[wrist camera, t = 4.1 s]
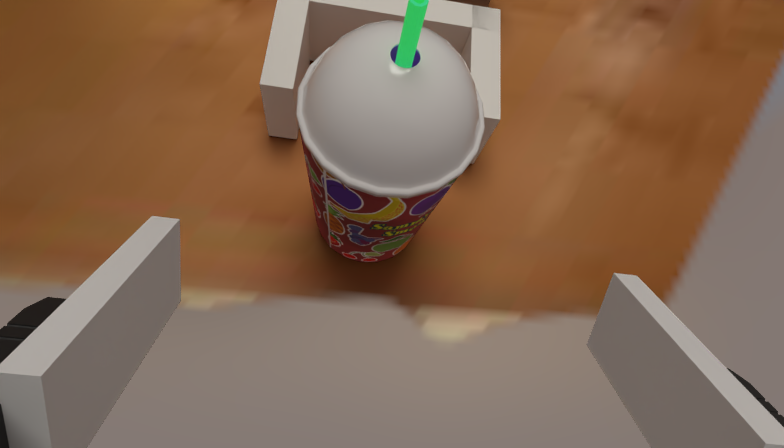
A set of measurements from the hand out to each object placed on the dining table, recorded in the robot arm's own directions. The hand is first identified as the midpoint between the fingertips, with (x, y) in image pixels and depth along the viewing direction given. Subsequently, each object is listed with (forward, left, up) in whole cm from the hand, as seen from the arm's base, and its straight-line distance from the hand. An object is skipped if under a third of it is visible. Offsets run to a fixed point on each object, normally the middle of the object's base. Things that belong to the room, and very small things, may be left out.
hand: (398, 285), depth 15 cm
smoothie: (+3, +9, -18) cm, 20 cm away
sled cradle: (+6, +18, -18) cm, 26 cm away
